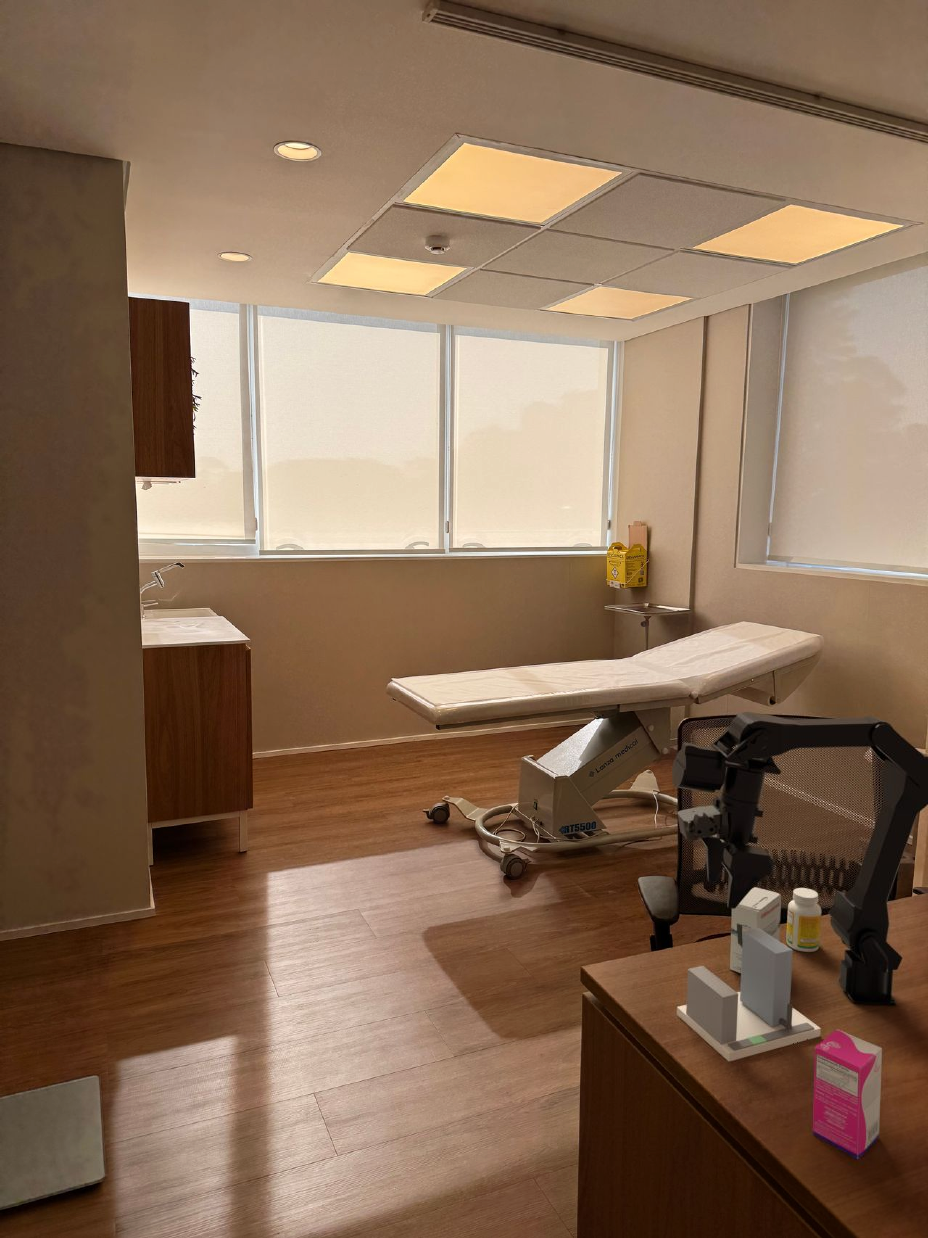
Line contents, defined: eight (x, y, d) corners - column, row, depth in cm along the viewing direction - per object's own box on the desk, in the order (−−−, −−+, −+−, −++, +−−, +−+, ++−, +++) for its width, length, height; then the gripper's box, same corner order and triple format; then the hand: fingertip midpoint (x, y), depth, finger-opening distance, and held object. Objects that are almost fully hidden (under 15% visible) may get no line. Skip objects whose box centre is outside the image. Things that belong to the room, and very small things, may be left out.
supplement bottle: (780, 944, 150) (782, 891, 149) (796, 934, 154) (799, 883, 152) (809, 956, 146) (812, 902, 145) (825, 946, 149) (828, 893, 148)
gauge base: (762, 993, 135) (765, 943, 134) (820, 1036, 124) (823, 982, 123) (676, 1014, 129) (678, 962, 128) (728, 1061, 118) (731, 1005, 117)
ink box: (752, 950, 148) (755, 884, 146) (780, 961, 145) (783, 893, 143) (727, 969, 142) (730, 901, 140) (756, 981, 138) (759, 910, 137)
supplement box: (832, 1112, 108) (837, 1026, 107) (880, 1138, 104) (886, 1048, 102) (809, 1134, 104) (814, 1045, 103) (858, 1161, 100) (864, 1069, 98)
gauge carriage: (756, 997, 131) (759, 928, 130) (798, 1029, 123) (802, 956, 121) (739, 1001, 130) (742, 931, 129) (781, 1034, 122) (785, 960, 120)
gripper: (671, 771, 139) (654, 863, 141) (707, 809, 121) (687, 915, 122) (738, 781, 140) (720, 872, 141) (785, 820, 121) (763, 925, 123)
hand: (720, 894), depth 132 cm, fingers open, 9 cm apart
